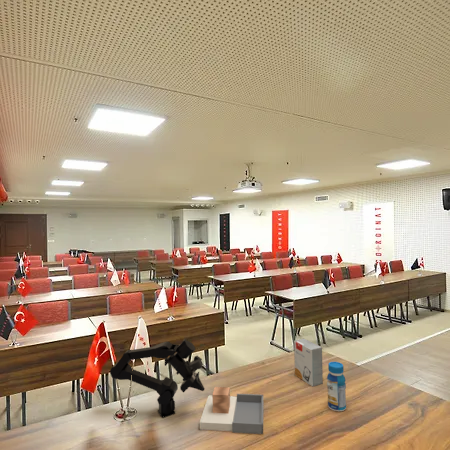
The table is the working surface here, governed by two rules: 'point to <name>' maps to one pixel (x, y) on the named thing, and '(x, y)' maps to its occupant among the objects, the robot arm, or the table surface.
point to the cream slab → (218, 416)
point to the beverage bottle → (336, 387)
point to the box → (248, 414)
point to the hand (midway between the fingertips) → (203, 390)
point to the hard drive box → (308, 362)
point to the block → (221, 400)
